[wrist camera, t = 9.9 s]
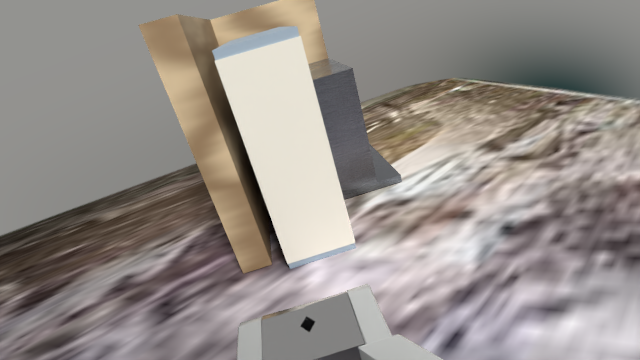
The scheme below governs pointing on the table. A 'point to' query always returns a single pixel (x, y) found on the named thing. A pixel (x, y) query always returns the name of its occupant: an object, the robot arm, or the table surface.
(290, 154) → the slate book box
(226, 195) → the oak shelf
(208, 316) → the table surface
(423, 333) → the table surface
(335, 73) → the metal bookend
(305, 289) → the table surface
